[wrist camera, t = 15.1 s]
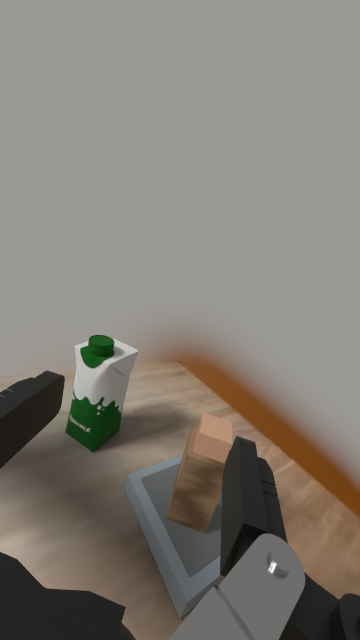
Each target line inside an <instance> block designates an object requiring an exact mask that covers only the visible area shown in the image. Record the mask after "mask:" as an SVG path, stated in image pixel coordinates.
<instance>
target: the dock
mask: <svg viewBox="0 0 360 640" xmlns="http://www.w3.org/2000/svg"><path fill="white" fill-rule="evenodd" d="M182 456H183V454H182V455H179V456H176V457H173V458H171V459H168V460H165V461H163V462H160V463H157V464H154V465H152V466H149V467H146V468H143V469H141V470H138V471H135V472H133V473H130V474H128V475H127V479H126V483H125V487H124V490H125V492H126V495H127V497H128V499H129V502H130V504H131V506H132V509H133V511H134V513H135V516H136V518H137V520H138V523H139V525H140V527H141V530H142V532H143V534H144V537H145V539H146V541H147V544H148V546H149V548H150V551H151V553H152V555H153V558H154V560H155V562H156V565H157V567H158V569H159V572H160V574H161V576H162V579H163V581H164V583H165V586H166V588H167V590H168V593H169V595H170V597H171V600H172V602H173V604H174V607H175V609H176V611H177V614H178V616H179V618H180V619H181V618H182V617H183V616H184V615H185V614H187V613H188V612H189V611H190V610H191V609H192V608H194V607H195V606H196V605H197V604H198V603H199V602H200V601H201V599H202V598H203V597H204V596H205V595H206V593H207V592H208V591H209V590H210V589H211V588H212V587H213V586H215V585H216V586H218V585H219V584H220V583H221V582H222V581H223V580H224V578H225V577H224V576H222V575H220V549H221V508H222V496H220V499H219V501H218V504H217V506H216V509H215V511H214V514H213V516H212V518H211V521H210V523H209V526H208V528H207V531H206V533H205V534H203V533H201V532H198V531H196V530H193V529H191V528H188V527H186V526H183V525H180V524H178V523H175V522H173V521H170V520H168V519H165V518H166V514H167V510H168V505H169V501H170V497H171V493H172V489H173V485H174V481H175V478H176V475H177V472H178V469H179V465H180V462H181V459H182Z"/></svg>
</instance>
